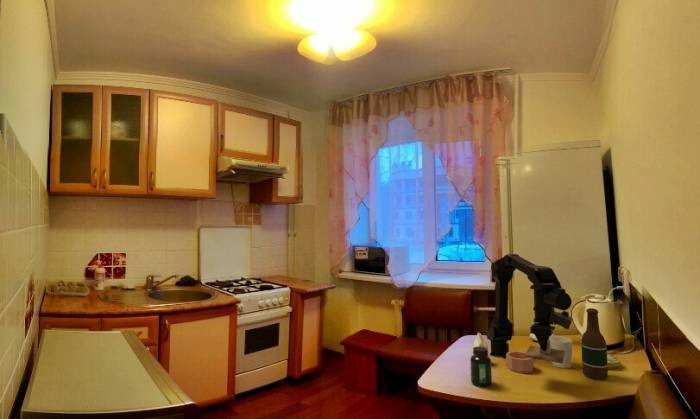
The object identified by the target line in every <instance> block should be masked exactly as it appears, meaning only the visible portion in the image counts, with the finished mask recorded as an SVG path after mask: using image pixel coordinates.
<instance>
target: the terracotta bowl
mask: <svg viewBox="0 0 700 419" xmlns="http://www.w3.org/2000/svg"><path fill="white" fill-rule="evenodd" d="M526 352H527V351H526ZM526 352H524V351H518V350H514V351H509V352H508V353H507V354H506V358H505V361H506V363H505V364H506V368H507V369H508V370H509V371H511V372H515V373H518V374H531V373H533V371H534V365H535V363H534V359H532V358H526V357H525V354H526Z"/></svg>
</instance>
